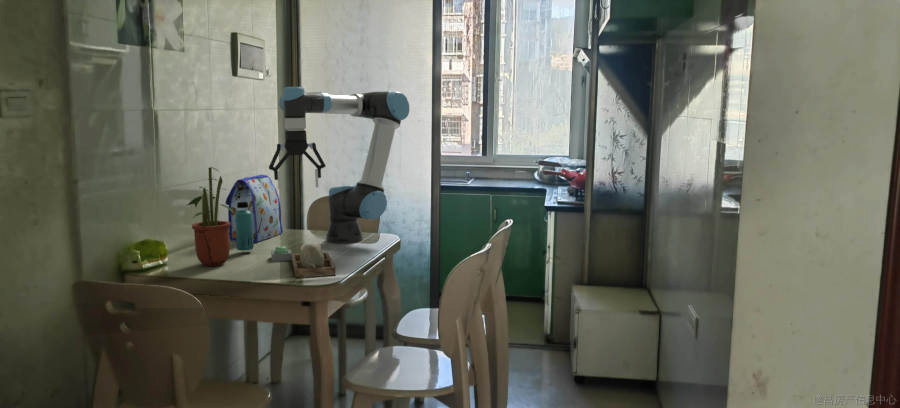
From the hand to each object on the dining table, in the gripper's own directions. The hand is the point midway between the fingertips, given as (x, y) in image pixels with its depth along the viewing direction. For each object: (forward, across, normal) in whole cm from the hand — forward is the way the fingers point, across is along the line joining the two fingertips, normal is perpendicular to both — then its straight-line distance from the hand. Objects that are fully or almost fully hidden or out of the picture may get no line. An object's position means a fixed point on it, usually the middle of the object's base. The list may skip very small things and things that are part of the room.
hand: (298, 188), depth 255 cm
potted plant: (+26, +30, +2) cm, 40 cm away
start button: (+25, +7, +3) cm, 26 cm away
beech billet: (+25, -2, +13) cm, 29 cm away
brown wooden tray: (+26, -2, +19) cm, 32 cm away
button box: (+26, +7, +3) cm, 28 cm away
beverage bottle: (+27, +20, -17) cm, 38 cm away
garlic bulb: (+26, -2, +25) cm, 36 cm away
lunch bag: (+27, +16, -48) cm, 58 cm away
